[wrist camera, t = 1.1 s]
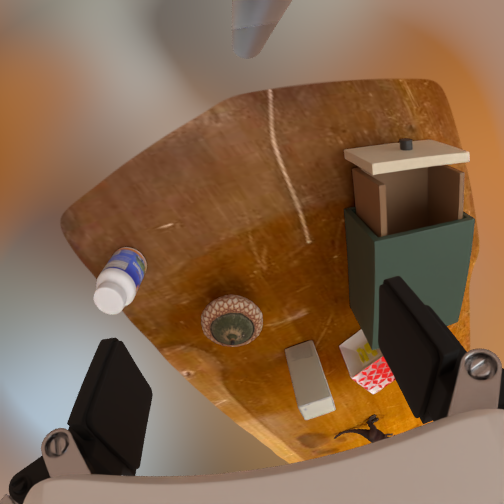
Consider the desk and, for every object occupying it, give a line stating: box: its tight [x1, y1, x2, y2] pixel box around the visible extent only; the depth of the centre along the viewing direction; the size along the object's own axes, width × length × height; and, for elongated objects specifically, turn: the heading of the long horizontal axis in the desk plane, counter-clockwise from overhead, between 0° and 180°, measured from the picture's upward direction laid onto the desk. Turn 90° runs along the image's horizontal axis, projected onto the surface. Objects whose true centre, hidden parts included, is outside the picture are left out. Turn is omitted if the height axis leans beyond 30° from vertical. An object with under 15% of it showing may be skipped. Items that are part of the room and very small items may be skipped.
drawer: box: [344, 138, 470, 237], centre depth 36 cm, size 17×13×9 cm
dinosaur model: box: [334, 415, 395, 443], centre depth 62 cm, size 4×12×15 cm
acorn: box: [201, 294, 263, 347], centre depth 43 cm, size 8×8×10 cm
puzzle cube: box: [339, 329, 395, 394], centre depth 50 cm, size 8×8×8 cm
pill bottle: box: [94, 247, 147, 315], centre depth 39 cm, size 5×5×10 cm
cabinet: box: [344, 207, 475, 350], centre depth 40 cm, size 17×15×11 cm
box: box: [285, 340, 336, 420], centre depth 47 cm, size 5×4×13 cm
